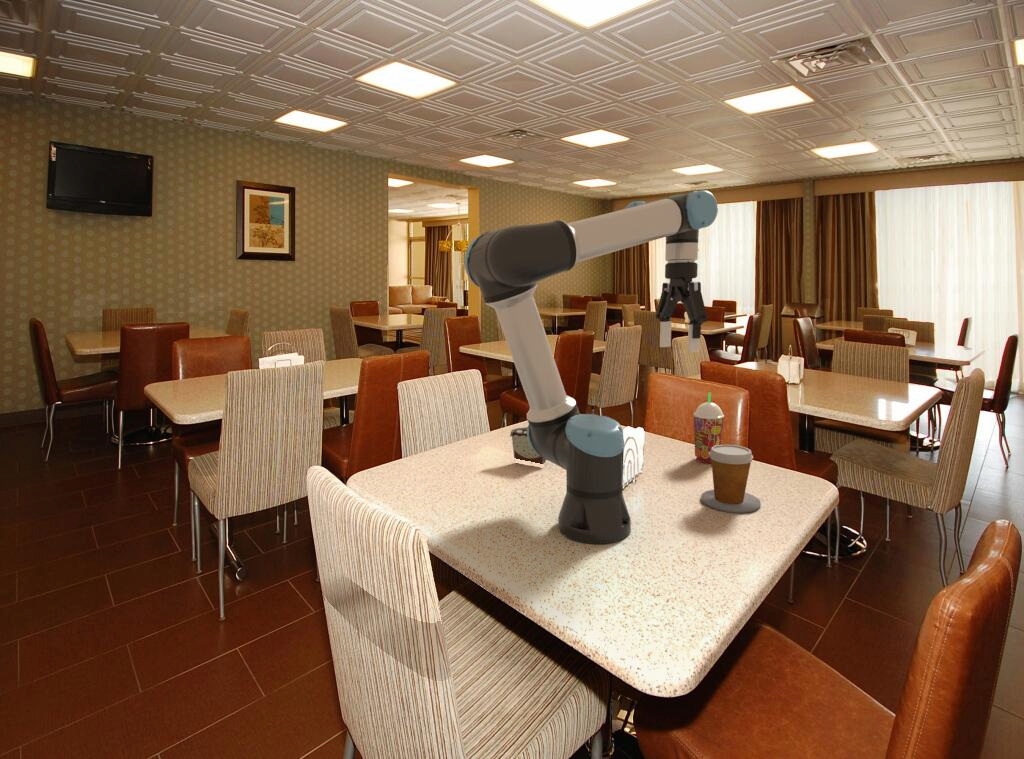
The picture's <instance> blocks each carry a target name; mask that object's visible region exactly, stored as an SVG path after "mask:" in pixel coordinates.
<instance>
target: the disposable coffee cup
mask: <svg viewBox="0 0 1024 759" xmlns="http://www.w3.org/2000/svg"><path fill="white" fill-rule="evenodd" d="M709 455H710V458H711V462H712V463H711V471H712V473H711V474H712V483H713V490H714V495H715V499H716V500H717V501H719V502H722V503H726V504H739V503H742V502H743V500H744V495H745V493H746V489H747V485H748V484H747V483H748V479H749V473H750V468H751V463H752V461H753V459H754V455H753V454H752V450H751V449H749V448H747V447H745V446H741V445H735V444H721V445H716V446H713V447H712V448H711V451H710V452H709Z"/></svg>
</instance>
